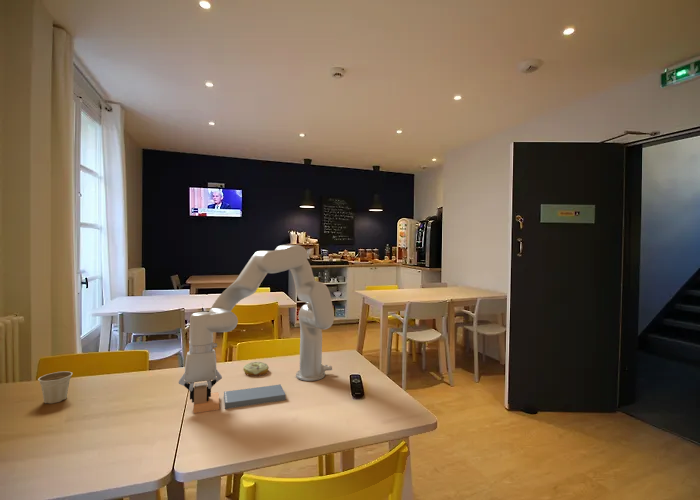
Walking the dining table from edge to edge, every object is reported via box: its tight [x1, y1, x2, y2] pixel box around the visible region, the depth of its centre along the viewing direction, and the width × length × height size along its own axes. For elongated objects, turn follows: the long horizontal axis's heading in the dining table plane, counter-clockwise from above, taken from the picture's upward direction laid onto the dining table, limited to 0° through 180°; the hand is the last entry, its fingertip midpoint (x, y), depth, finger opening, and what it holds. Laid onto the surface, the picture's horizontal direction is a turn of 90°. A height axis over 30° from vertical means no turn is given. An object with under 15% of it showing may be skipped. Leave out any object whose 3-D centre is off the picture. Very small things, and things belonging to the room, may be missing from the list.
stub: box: [193, 381, 220, 414], centre depth 123 cm, size 8×10×7 cm
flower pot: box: [37, 371, 73, 404], centre depth 124 cm, size 9×9×9 cm
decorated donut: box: [242, 361, 270, 377], centre depth 155 cm, size 10×11×4 cm
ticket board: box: [223, 384, 287, 410], centre depth 129 cm, size 21×10×2 cm, turn 112°
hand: (200, 399), depth 122 cm, fingers closed on stub, 4 cm apart
